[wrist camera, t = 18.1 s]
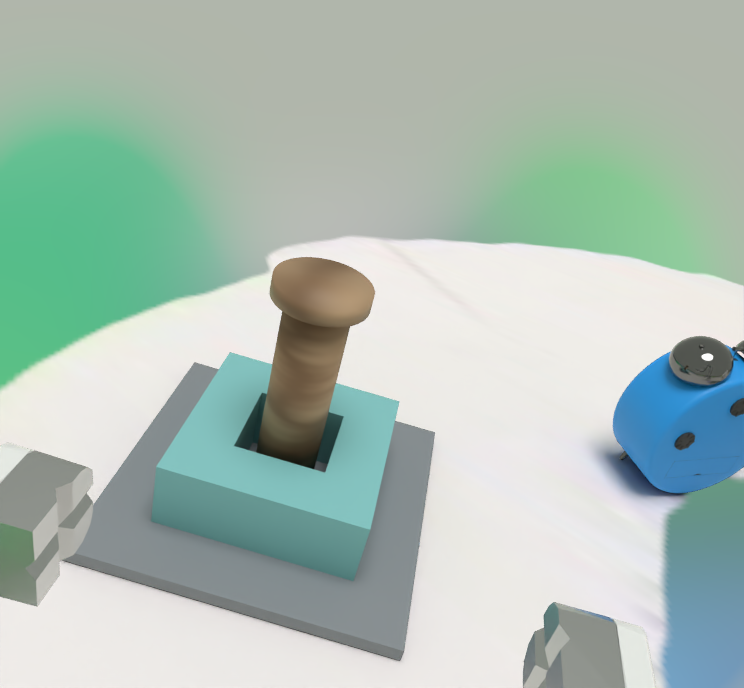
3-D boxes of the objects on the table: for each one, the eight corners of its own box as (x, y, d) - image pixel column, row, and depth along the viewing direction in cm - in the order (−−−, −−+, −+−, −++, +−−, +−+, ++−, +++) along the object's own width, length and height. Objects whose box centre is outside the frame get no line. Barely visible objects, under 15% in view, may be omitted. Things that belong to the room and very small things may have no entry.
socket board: (431, 441, 63) (451, 387, 60) (399, 660, 44) (425, 599, 41) (193, 371, 63) (200, 314, 60) (61, 559, 44) (61, 492, 41)
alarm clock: (695, 449, 71) (774, 325, 63) (737, 495, 67) (827, 366, 59) (588, 452, 67) (658, 319, 59) (624, 502, 62) (706, 363, 54)
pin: (330, 465, 56) (381, 274, 47) (312, 524, 50) (365, 321, 41) (252, 442, 56) (287, 248, 47) (225, 499, 50) (259, 291, 41)
